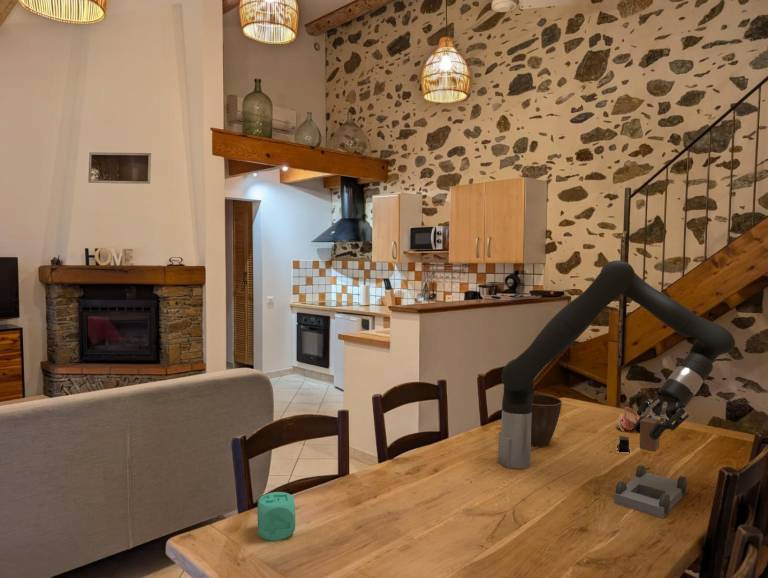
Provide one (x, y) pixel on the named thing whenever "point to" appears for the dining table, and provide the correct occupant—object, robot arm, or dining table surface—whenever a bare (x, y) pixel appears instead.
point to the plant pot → (544, 419)
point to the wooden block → (648, 434)
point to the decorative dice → (276, 516)
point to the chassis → (650, 492)
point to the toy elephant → (627, 419)
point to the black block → (623, 444)
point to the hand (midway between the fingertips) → (644, 434)
